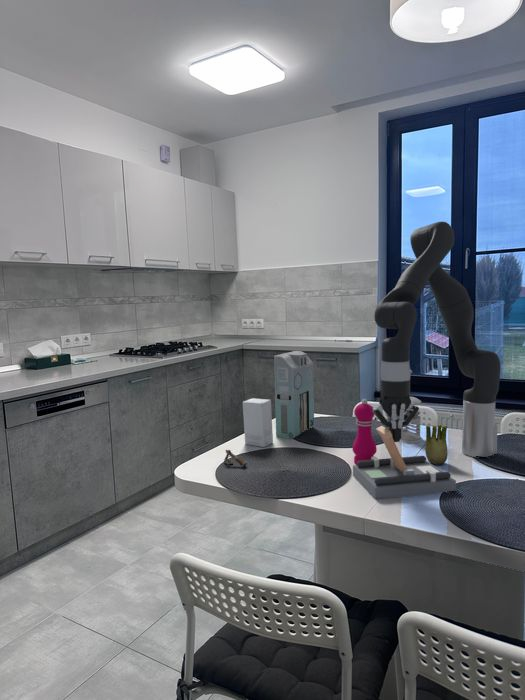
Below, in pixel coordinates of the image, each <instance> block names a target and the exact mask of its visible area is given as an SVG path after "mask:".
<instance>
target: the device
mask: <svg viewBox="0 0 525 700" xmlns="http://www.w3.org/2000/svg"><path fill="white" fill-rule="evenodd" d="M273 358H274V362H273V363H274V402H275V405H274V406H275V412H274V413H275V436H276V437H281V438H287V439H295V438H296V437H299V436H300V435H301V434H300V433H302V432H303V431H305V430H307V429H309V430H311V429H313V428H314V427H315V396H314V395H315V390H314V389H315V382H314V381H315V379H314V375H315V374H314V368H315V367H314V366H315V365H314V363H313V361H312V360H311V359H310V357H309V356H308V353H305V352H304V351H301V350H293V351H290V352H284V353H281V354H277V355H274V356H273ZM312 427H313V428H312ZM310 428H311V429H310ZM307 431H308V430H307ZM305 432H306V431H305ZM299 434H300V435H299ZM302 434H303V433H302Z"/></svg>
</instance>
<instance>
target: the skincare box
mask: <svg viewBox="0 0 525 700" xmlns="http://www.w3.org/2000/svg"><path fill="white" fill-rule="evenodd" d="M242 413H243V414H242V415H243V428H244V430H243V431H244V444H245V445H249V446H254V447H262V448H265V447H267V446H269V445H271V444H272V443H273V442H274V439H273V438H274V437H273V435H274V434H273V419H272V417H273V416H272V415H273V414H272V399H265V398H254V397H252V398H249V399H246V400H243V401H242Z"/></svg>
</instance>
